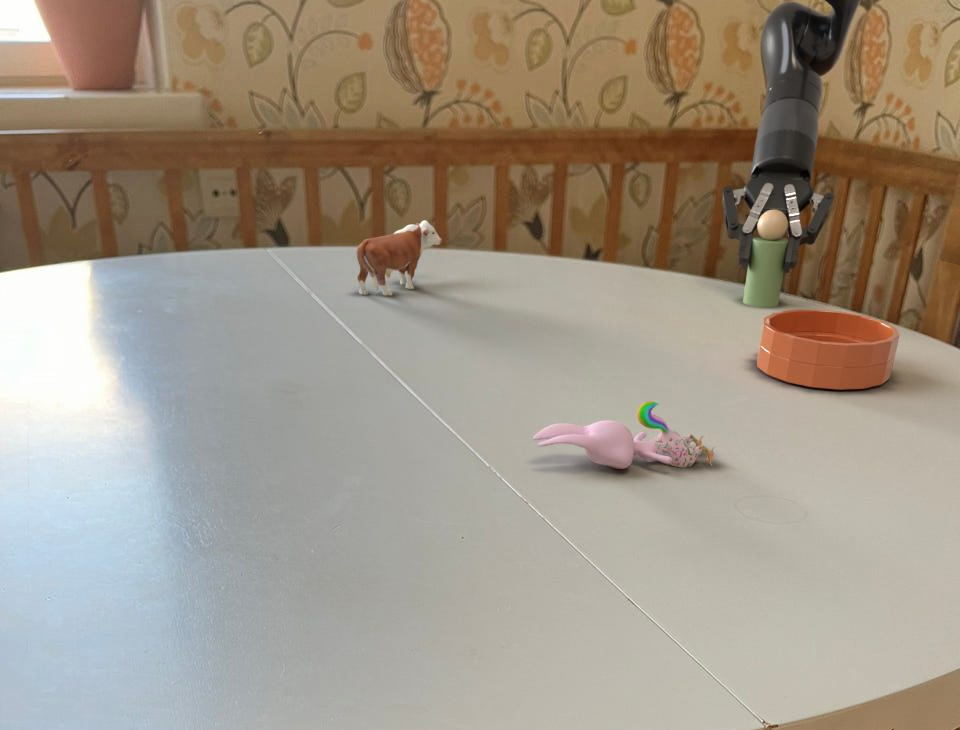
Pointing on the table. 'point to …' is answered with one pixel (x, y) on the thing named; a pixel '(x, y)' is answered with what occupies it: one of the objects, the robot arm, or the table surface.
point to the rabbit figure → (627, 441)
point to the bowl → (827, 349)
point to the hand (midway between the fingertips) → (766, 266)
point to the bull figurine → (394, 255)
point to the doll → (767, 261)
